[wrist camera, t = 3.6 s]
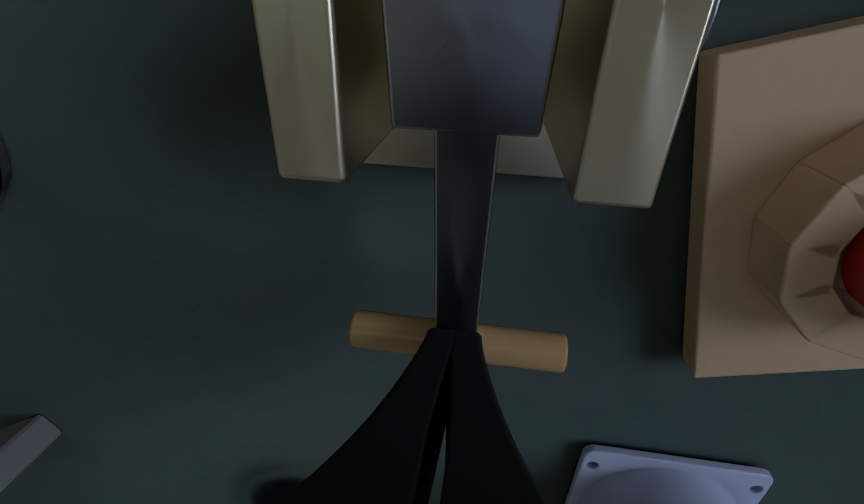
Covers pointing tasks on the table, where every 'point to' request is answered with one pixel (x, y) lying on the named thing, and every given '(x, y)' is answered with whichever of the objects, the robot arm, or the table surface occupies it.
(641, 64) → the bracket
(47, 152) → the table surface
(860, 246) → the button
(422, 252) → the table surface
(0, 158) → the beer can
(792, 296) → the control block
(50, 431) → the lighter
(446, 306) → the lever
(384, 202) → the table surface
